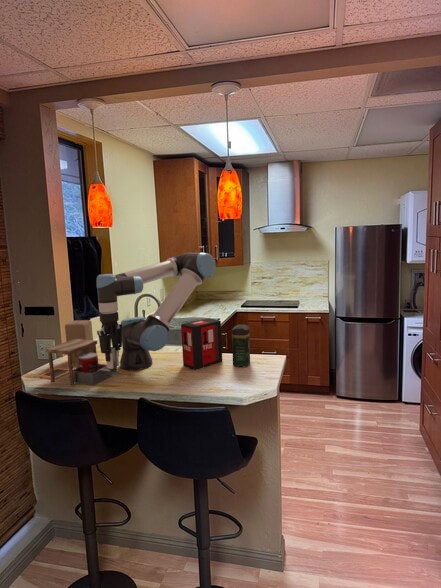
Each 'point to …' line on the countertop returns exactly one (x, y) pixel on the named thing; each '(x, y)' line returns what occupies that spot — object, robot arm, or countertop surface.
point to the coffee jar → (241, 346)
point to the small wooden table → (69, 348)
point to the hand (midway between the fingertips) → (113, 366)
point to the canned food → (88, 362)
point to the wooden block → (78, 332)
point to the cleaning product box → (201, 343)
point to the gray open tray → (96, 373)
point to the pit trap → (56, 373)
